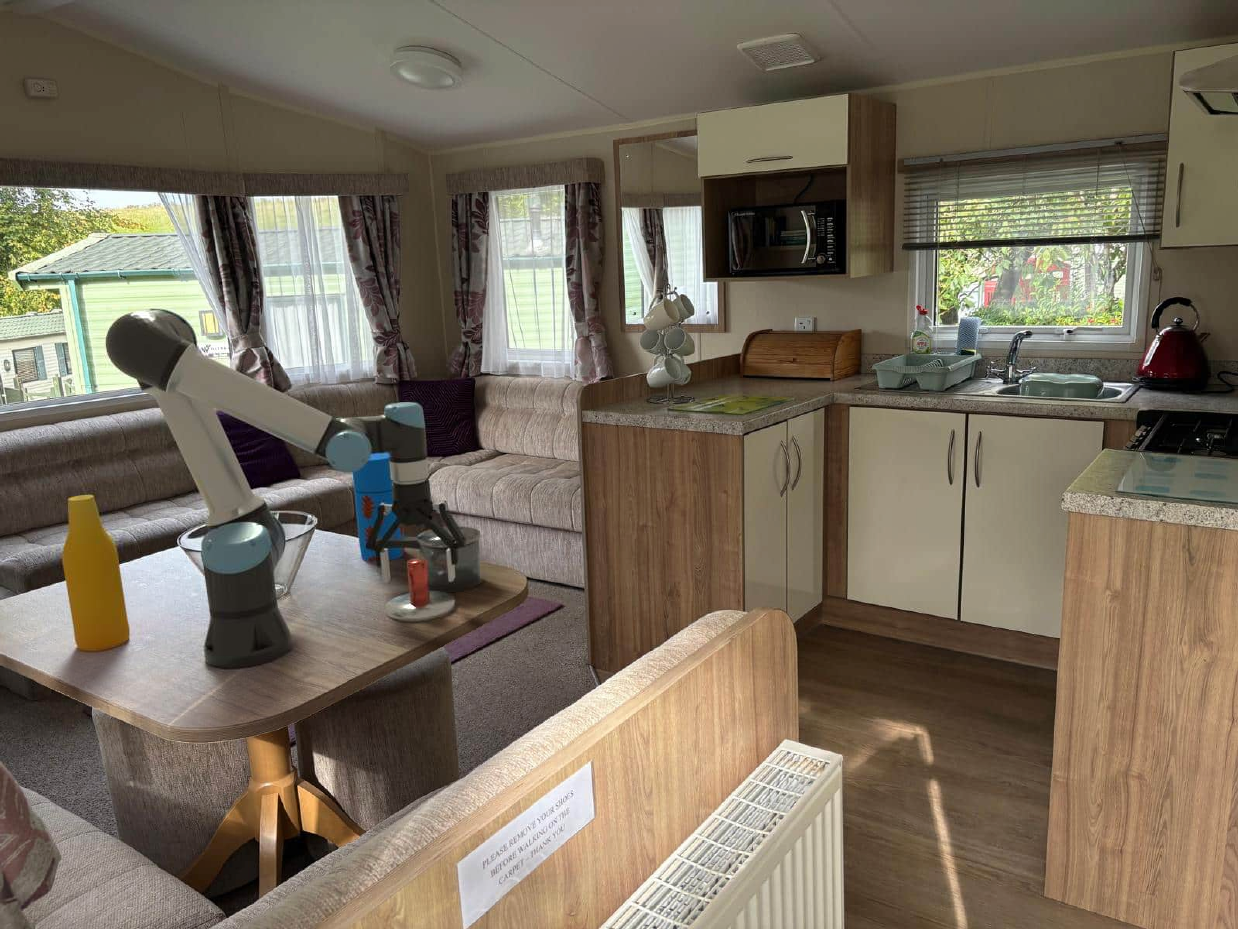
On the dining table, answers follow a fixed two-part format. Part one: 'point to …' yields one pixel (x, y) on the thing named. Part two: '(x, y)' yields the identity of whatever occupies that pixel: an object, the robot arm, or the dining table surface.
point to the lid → (419, 597)
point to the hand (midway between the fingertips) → (419, 580)
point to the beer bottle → (93, 579)
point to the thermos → (374, 503)
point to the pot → (445, 558)
